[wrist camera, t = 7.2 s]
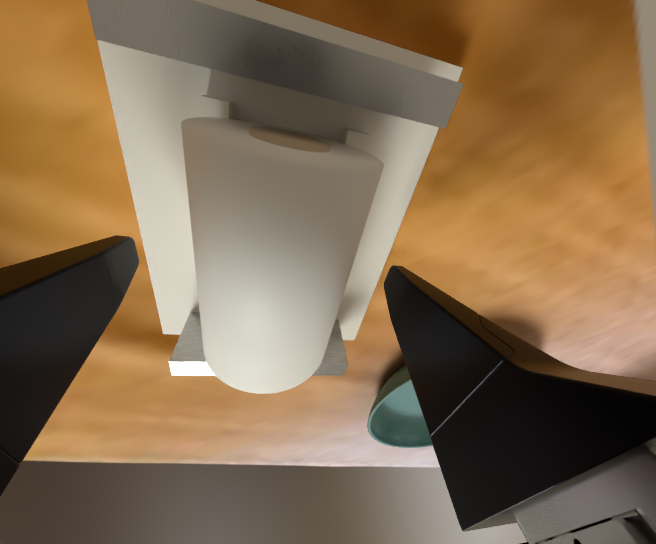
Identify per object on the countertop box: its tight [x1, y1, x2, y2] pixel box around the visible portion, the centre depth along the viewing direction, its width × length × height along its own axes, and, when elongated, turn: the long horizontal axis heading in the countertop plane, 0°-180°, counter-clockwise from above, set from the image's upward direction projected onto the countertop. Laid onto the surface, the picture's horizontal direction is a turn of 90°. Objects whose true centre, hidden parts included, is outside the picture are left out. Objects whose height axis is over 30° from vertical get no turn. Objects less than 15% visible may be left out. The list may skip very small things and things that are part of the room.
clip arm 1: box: [169, 312, 348, 375], centre depth 13 cm, size 1×8×3 cm, turn 78°
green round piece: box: [367, 365, 433, 448], centre depth 23 cm, size 15×15×3 cm
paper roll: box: [181, 117, 384, 394], centre depth 9 cm, size 8×5×5 cm, turn 168°
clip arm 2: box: [87, 0, 463, 129], centre depth 7 cm, size 1×8×3 cm, turn 78°
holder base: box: [97, 0, 463, 340], centre depth 11 cm, size 14×11×2 cm
